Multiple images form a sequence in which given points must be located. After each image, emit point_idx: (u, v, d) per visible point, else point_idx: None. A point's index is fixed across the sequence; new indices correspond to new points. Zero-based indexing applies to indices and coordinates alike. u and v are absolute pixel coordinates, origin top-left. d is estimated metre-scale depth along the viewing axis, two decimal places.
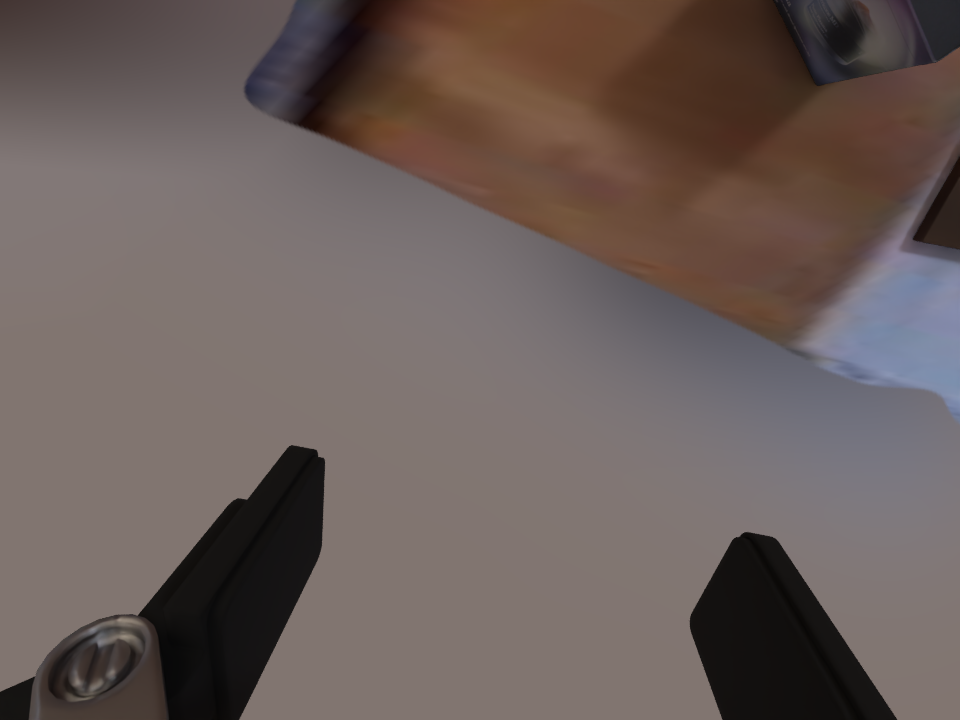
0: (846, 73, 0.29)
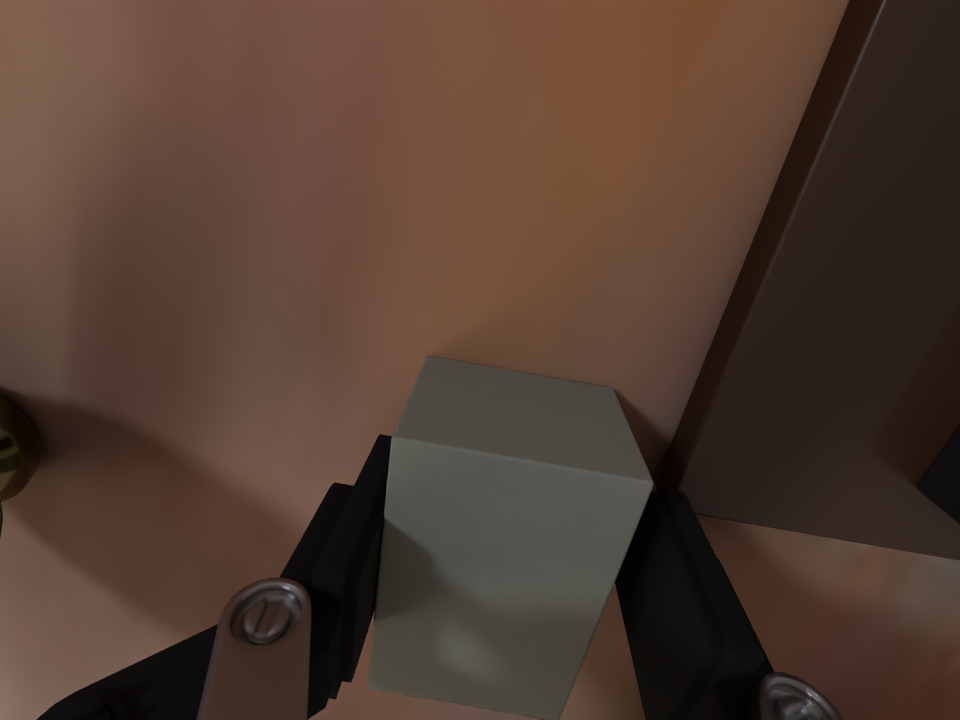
0: None
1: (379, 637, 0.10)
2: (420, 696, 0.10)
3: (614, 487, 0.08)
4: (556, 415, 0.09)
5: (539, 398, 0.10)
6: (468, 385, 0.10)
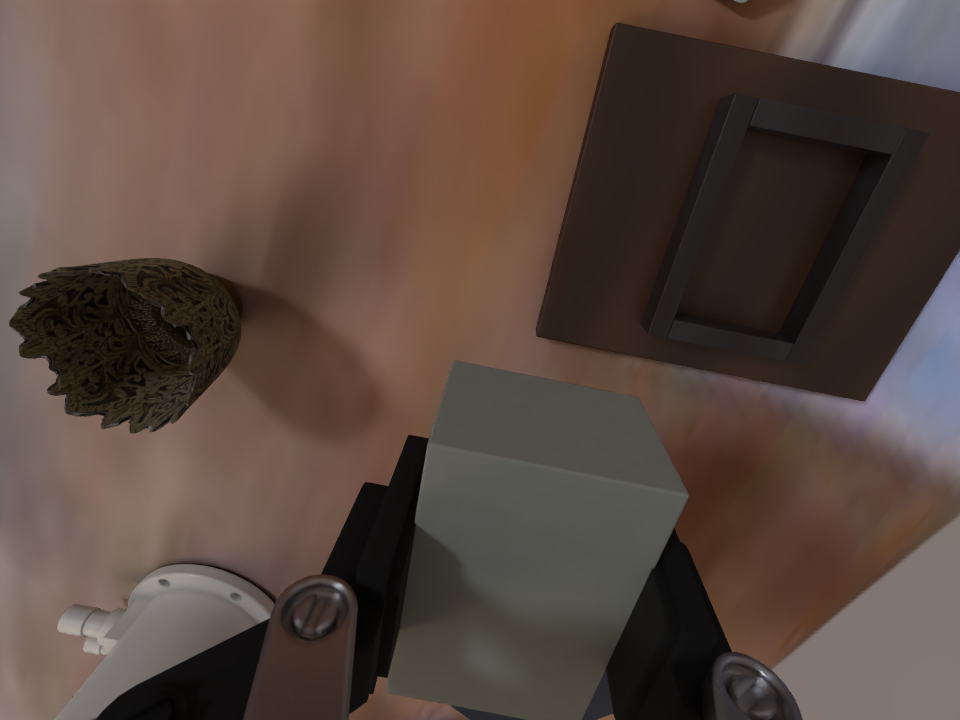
0: None
1: (402, 642, 0.10)
2: (439, 701, 0.10)
3: (649, 498, 0.08)
4: (586, 424, 0.09)
5: (568, 406, 0.10)
6: (497, 391, 0.10)
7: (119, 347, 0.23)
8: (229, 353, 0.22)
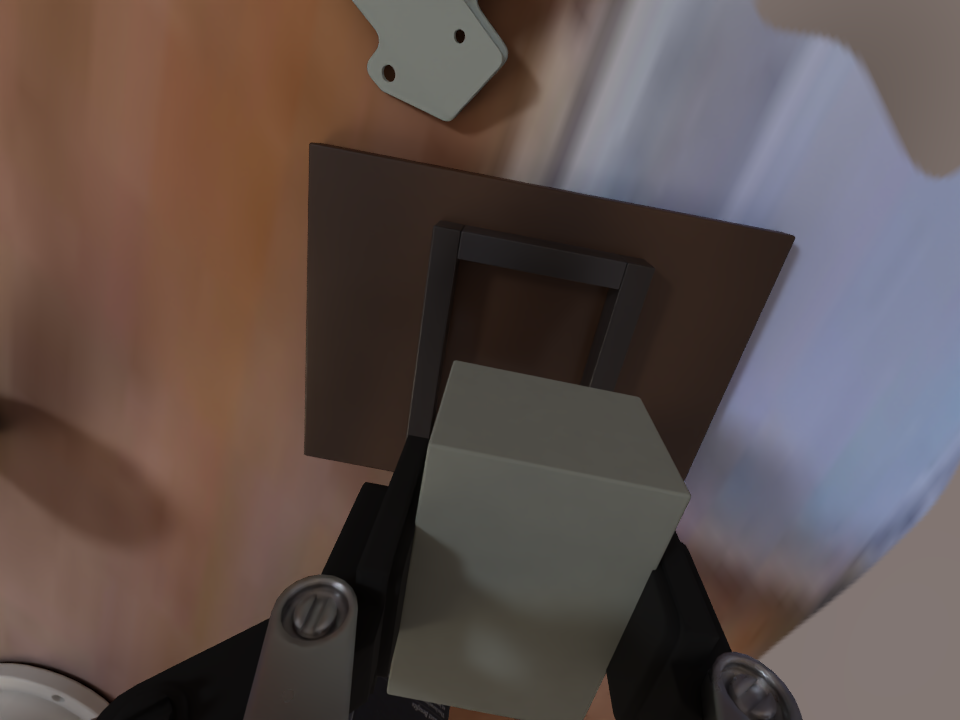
0: None
1: (402, 643, 0.10)
2: (440, 702, 0.10)
3: (650, 499, 0.08)
4: (588, 424, 0.09)
5: (569, 406, 0.10)
6: (498, 391, 0.10)
7: None
8: None
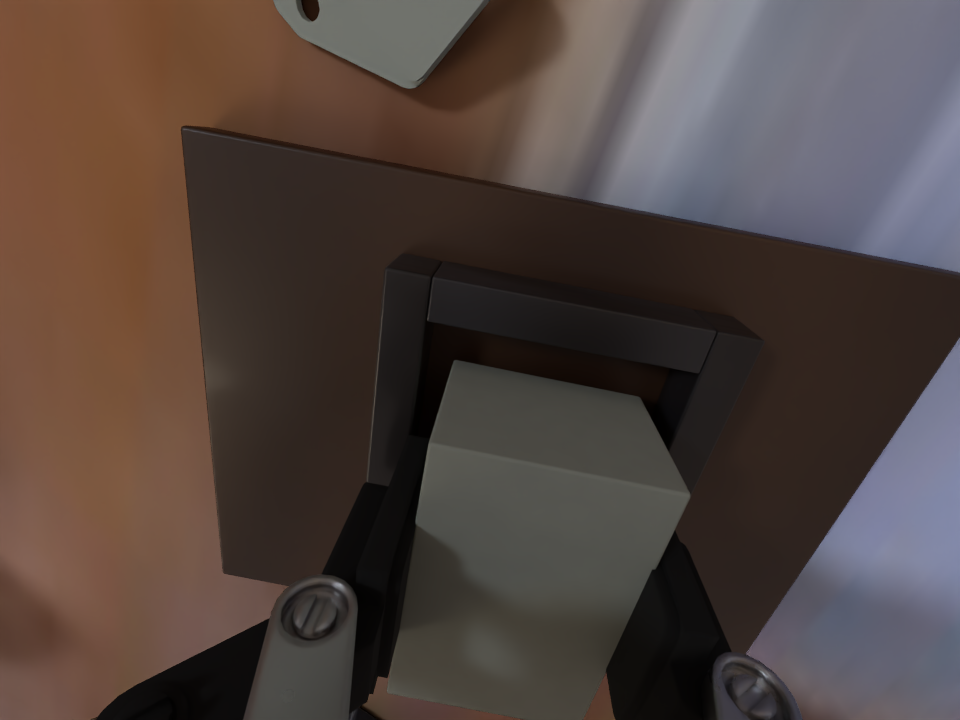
0: None
1: (402, 642, 0.10)
2: (440, 702, 0.10)
3: (650, 498, 0.08)
4: (588, 424, 0.09)
5: (569, 405, 0.10)
6: (498, 391, 0.10)
7: None
8: None
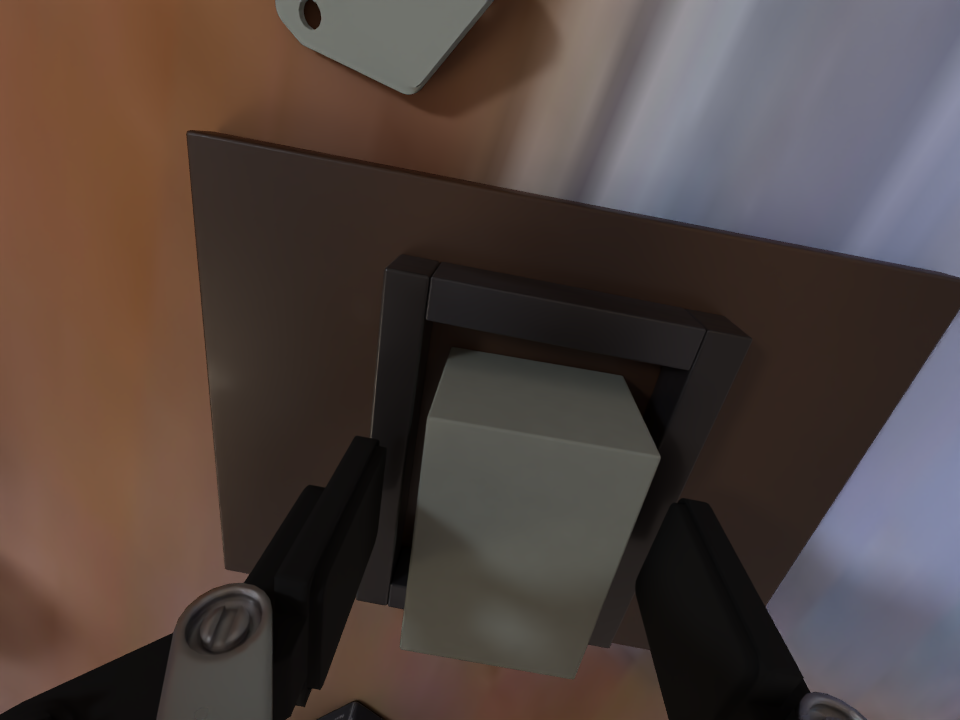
0: None
1: (412, 600, 0.11)
2: (448, 656, 0.12)
3: (625, 461, 0.09)
4: (572, 399, 0.10)
5: (555, 384, 0.11)
6: (491, 372, 0.11)
7: None
8: None
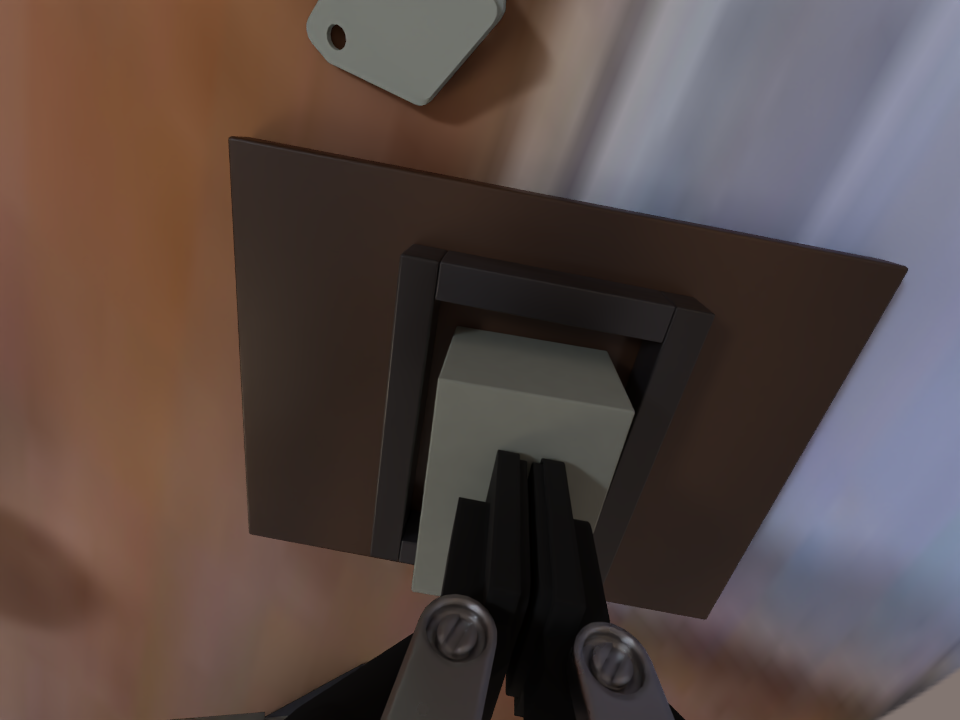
0: None
1: (423, 545, 0.12)
2: None
3: (605, 415, 0.10)
4: (561, 368, 0.12)
5: (547, 356, 0.12)
6: (491, 346, 0.12)
7: None
8: None
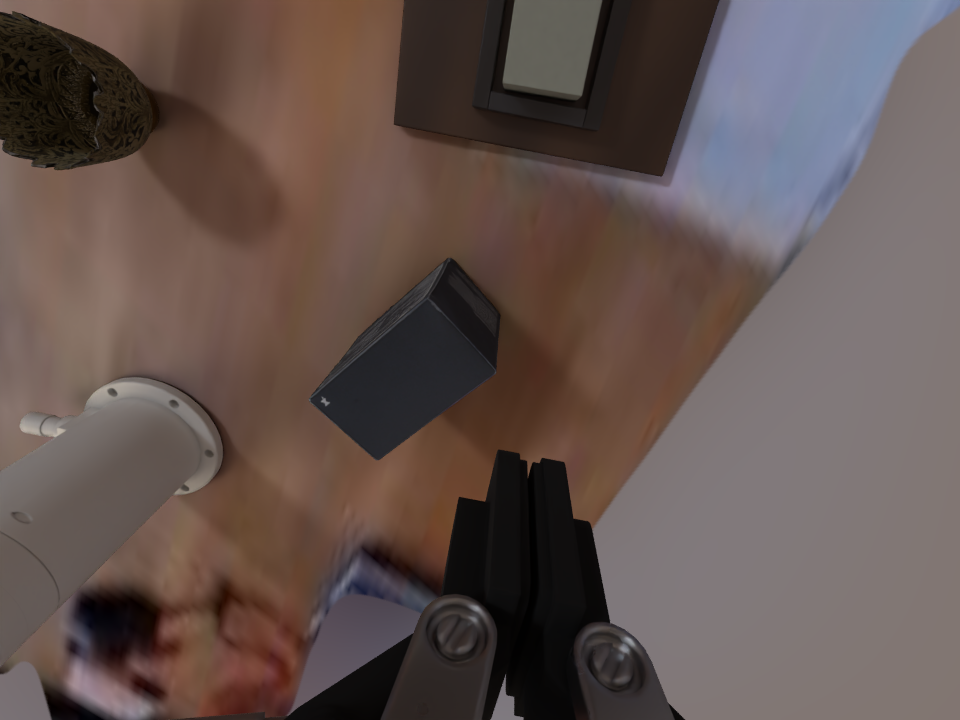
0: None
1: (511, 42, 0.25)
2: (524, 85, 0.25)
3: None
4: None
5: None
6: None
7: (52, 125, 0.29)
8: (138, 123, 0.28)
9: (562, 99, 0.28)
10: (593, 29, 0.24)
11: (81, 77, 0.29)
